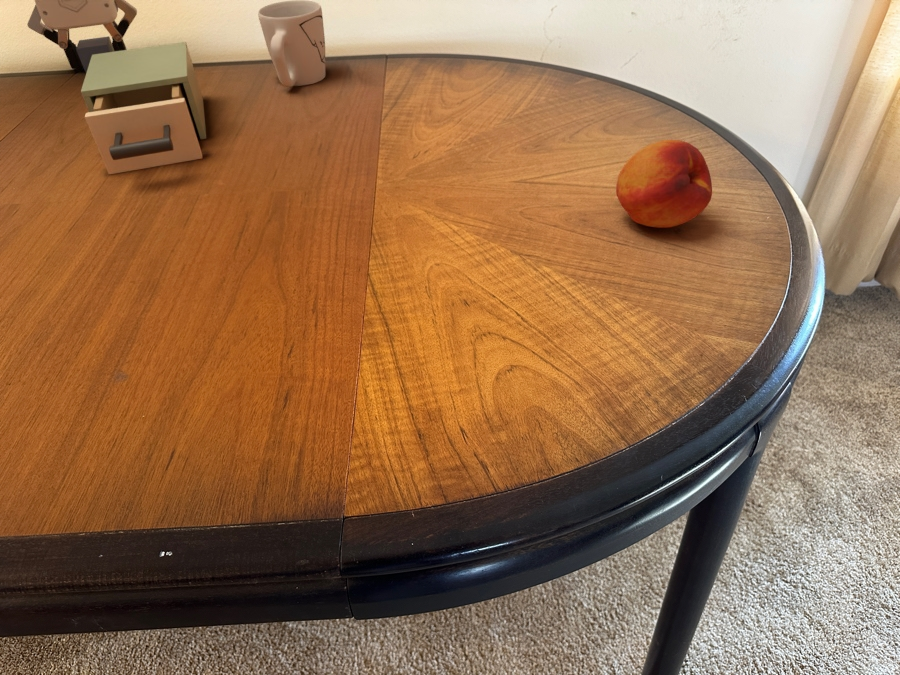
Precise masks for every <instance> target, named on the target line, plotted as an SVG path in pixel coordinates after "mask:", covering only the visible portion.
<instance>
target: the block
mask: <svg viewBox="0 0 900 675" xmlns="http://www.w3.org/2000/svg"><path fill="white" fill-rule="evenodd" d="M76 47H77V48H76V50H77V53H78V55H79V58H80V60H81V63H82V65H83V70H84V72H85V73H87V70H88V67H89V63H90V60H91V57H92V55H93V54H101V53H108V52H115V51H114V49H113V46H112V40H111V37H110V36H101V37H93V38H86V39H78V42H77V44H76Z"/></svg>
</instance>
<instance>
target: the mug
mask: <svg viewBox="0 0 900 675" xmlns="http://www.w3.org/2000/svg"><path fill="white" fill-rule="evenodd" d="M257 16H258V20H259V24H260V27H261V31H262V34H263V37H264V40H265V44H266V47H267V48H266V49H267V51H268V55H269V56H270V59H271V61H272V64H273V67H274V69H275V72H276V75H277V78H278V80H279V82H280V83H281V85H282V86H283V87H286V88H287V87H288V88H290V87H299V86H308V85H312V84H315V83H318V82H320V81H322V80H324V78H326V38H325V37H326V36H325V28H324V17H323V9H322V5H321V4H320V3H319V2H317V1H313V0H285V1H284V0H283V1H278V2H274V3H270V4H268V5H267V4H266V5H265V6H263V7H261V8H260V9H259V10H258V12H257Z"/></svg>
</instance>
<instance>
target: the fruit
mask: <svg viewBox="0 0 900 675" xmlns="http://www.w3.org/2000/svg"><path fill="white" fill-rule="evenodd" d="M703 155H704V154H702V152H701V151H700V150H699V149H698V148H697V147H695V146H694V145H693V144H691V143H689V142H687V141H684V140H679V139H663V140H658V141H655V142H652V143H649V144H648V145H645V146H643V148H641V149H639V150H637V151H636V152H635V153H634V154H633V155H632V156H631V157H629V159H628V160H627V161H626V162H625V164H624V165H623V167H622V168H621V169H620V171H619V174H618V176H617V179H616V180H617V181H616V185H615V187H616V188H615V190H616V191H615V192H616V197H617V199H618V202H619V204H620V206H621V207H622V209H623V210H624V211H625V212H627V214H628V216H629V218H630V219H631V220H632V221H633V222H635V223H637V224H640V225H642V226H645V227H651V228H658V229H660V228H662V229H663V228H664V229H665V228H672V227H677V226H680V225H683V224H685V223H687V222H689V221H691V220H693V219H695V218H696V217H697V216H699V215H700V214H701V213H702V212H703V211H704V210H705V209H706V208H707V207H708V205H709V204H710V202H711V200H712V197H713V185H712V184H713V182H712V177H711V173H710V169H709V167H708V164H707V161H706V159H705V157H704V156H703Z"/></svg>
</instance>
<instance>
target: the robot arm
mask: <svg viewBox="0 0 900 675" xmlns="http://www.w3.org/2000/svg"><path fill="white" fill-rule="evenodd" d="M34 3H35V5H34V7H33V10H32V12H31V15H30V17H29V19H28V21H27V27H28V29H30V30H32V31H33V32H35V33H37V34H39V35H41V36H43V37H44V38H45V39H47V40H49V41H50V42H52V43H54V44H55V45H57V46H58V47H59V49H62V50H63V52H64V54H65V56H66V60H67V61H68V64H69V66H70V68H71V69H72V70H75V71H76V73H82V72H83V70H84V67H83V65H82V63H81V60H80V58H79V55H78V53H77V50H76V48H77V44H76V43H74V42H73V41H72V39H71V33H70V30H71V29H78V28H87V27H94V26H101V25H102V26H103V27H104V28H105V30H106V31H107V32H108V34H109V35H110V36H111V39H112V40H111V43H112V46H113V49H114V51H123V50H127V47H126V44H125V42H124V39H123V38H124V36H125V34H126V33H127V31H128V29H129V28H130V26H131V24H132V23H133V21H134V20H135V18H136V17H137V14H138V10H137V8H136V7H134V5H132V4H131V3H129V2H128V1H126V0H34ZM119 10H121V11H122V12H123V13H124V14H123V16H122V17H121V19H120V20H119V22H118V23H117V21H116V20H117V17H118V12H119Z"/></svg>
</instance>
